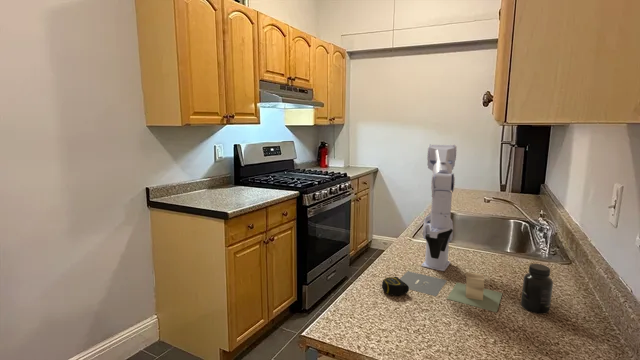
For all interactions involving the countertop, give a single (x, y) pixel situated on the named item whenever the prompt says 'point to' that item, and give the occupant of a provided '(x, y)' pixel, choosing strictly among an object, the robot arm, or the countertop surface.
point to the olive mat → (488, 302)
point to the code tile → (423, 283)
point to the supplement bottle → (537, 289)
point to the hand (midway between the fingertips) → (438, 254)
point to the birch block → (474, 286)
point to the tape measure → (394, 286)
